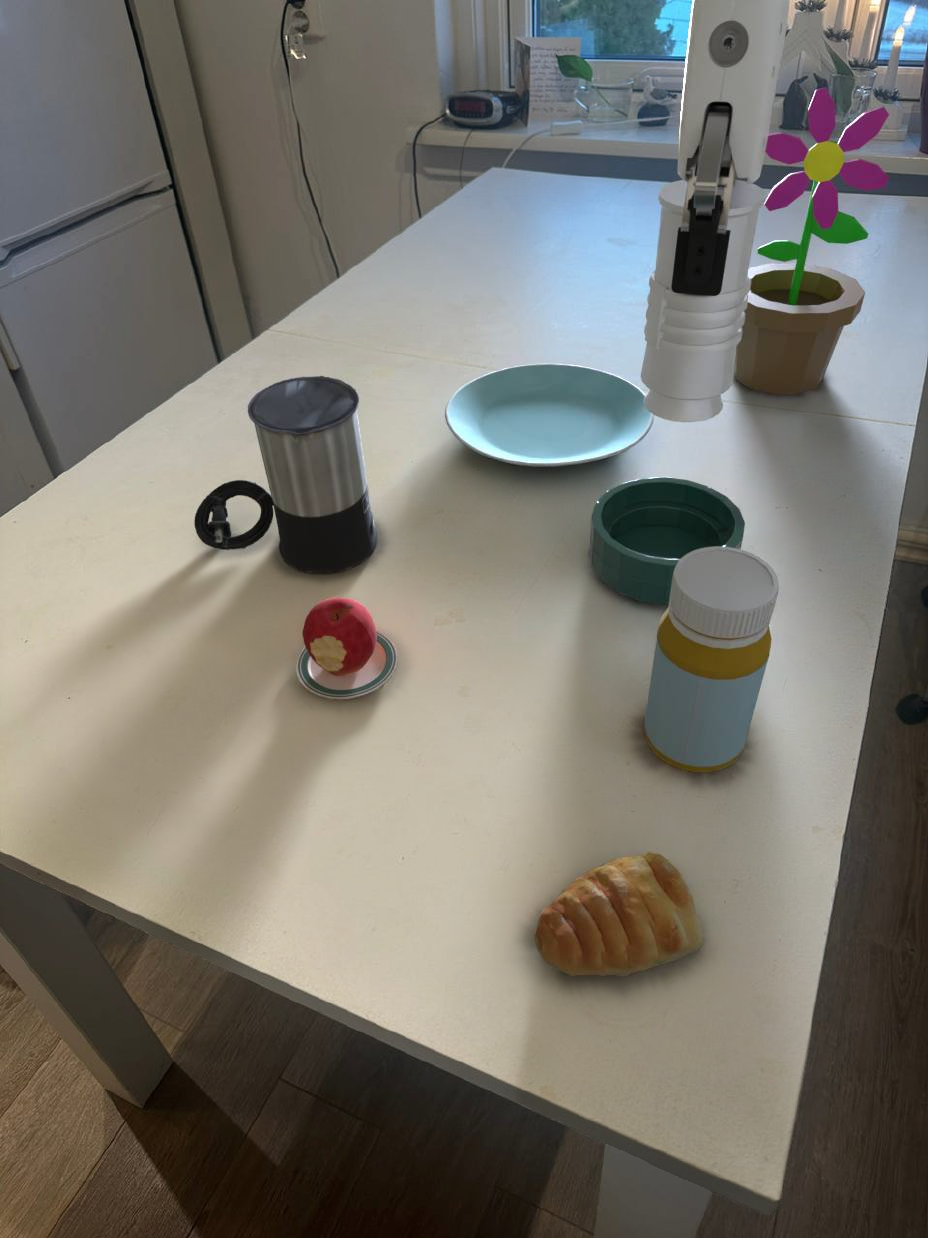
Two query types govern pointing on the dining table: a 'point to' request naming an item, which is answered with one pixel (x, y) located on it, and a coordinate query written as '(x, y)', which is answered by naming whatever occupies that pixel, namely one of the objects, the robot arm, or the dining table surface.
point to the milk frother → (303, 479)
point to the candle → (696, 314)
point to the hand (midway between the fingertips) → (701, 270)
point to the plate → (548, 415)
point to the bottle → (710, 658)
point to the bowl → (657, 532)
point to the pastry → (620, 919)
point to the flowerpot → (796, 292)
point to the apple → (344, 651)
